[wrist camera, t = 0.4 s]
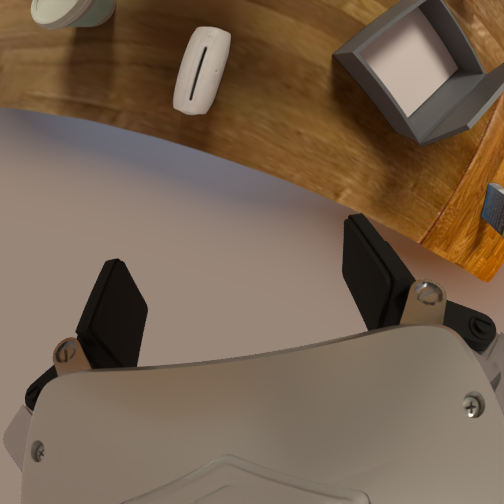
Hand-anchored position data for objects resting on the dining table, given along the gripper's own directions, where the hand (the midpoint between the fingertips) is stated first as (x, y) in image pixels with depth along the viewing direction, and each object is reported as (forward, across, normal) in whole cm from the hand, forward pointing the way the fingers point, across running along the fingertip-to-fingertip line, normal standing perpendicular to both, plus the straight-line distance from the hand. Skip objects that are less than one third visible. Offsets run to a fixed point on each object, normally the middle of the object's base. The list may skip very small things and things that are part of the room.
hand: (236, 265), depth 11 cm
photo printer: (+31, +1, -8) cm, 32 cm away
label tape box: (+31, -56, +19) cm, 67 cm away
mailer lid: (+17, -31, -6) cm, 36 cm away
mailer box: (+31, -29, -9) cm, 43 cm away
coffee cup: (+31, +15, -24) cm, 42 cm away
